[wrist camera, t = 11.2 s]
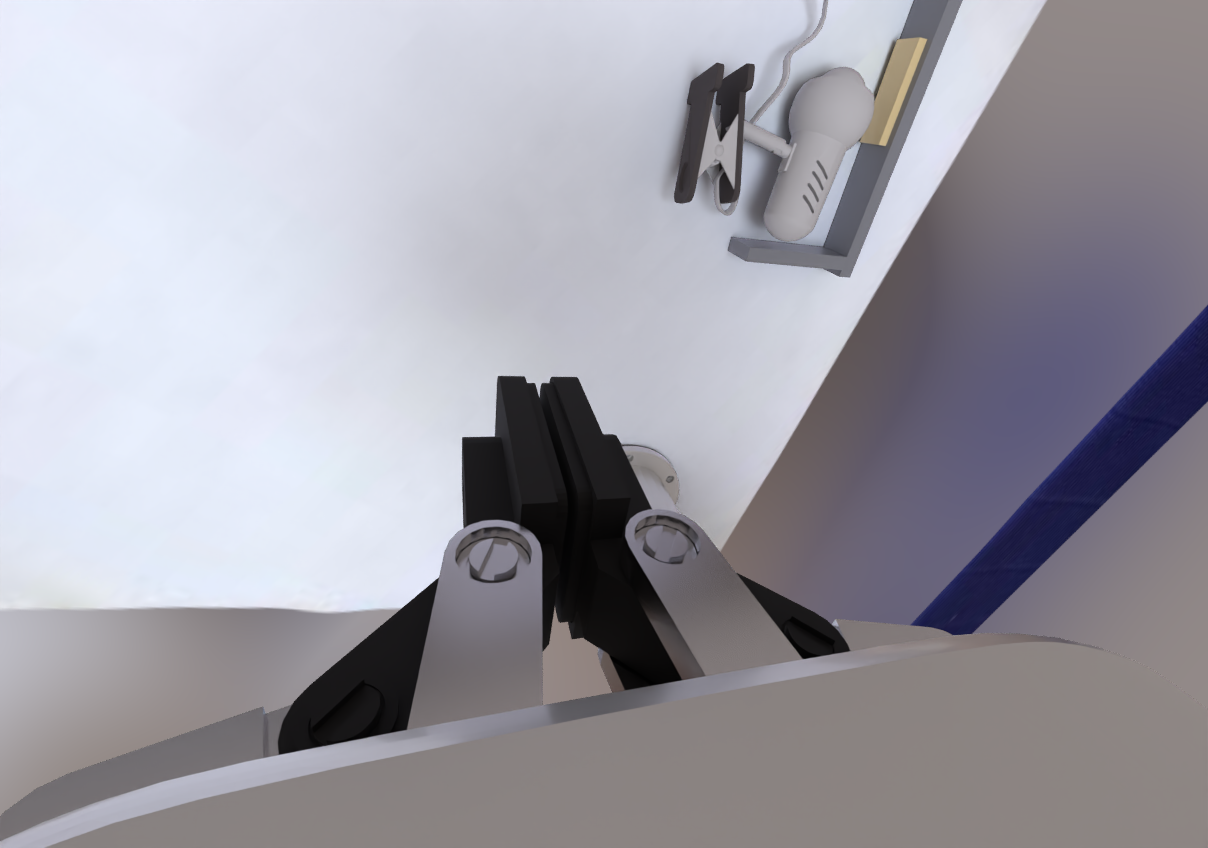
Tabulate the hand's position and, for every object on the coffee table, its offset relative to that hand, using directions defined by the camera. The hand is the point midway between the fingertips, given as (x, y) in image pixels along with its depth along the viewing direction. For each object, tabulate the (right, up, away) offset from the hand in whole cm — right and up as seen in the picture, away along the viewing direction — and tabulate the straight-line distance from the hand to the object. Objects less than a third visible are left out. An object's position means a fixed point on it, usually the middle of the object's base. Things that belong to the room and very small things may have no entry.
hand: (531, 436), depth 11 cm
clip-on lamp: (+13, +23, +23) cm, 35 cm away
